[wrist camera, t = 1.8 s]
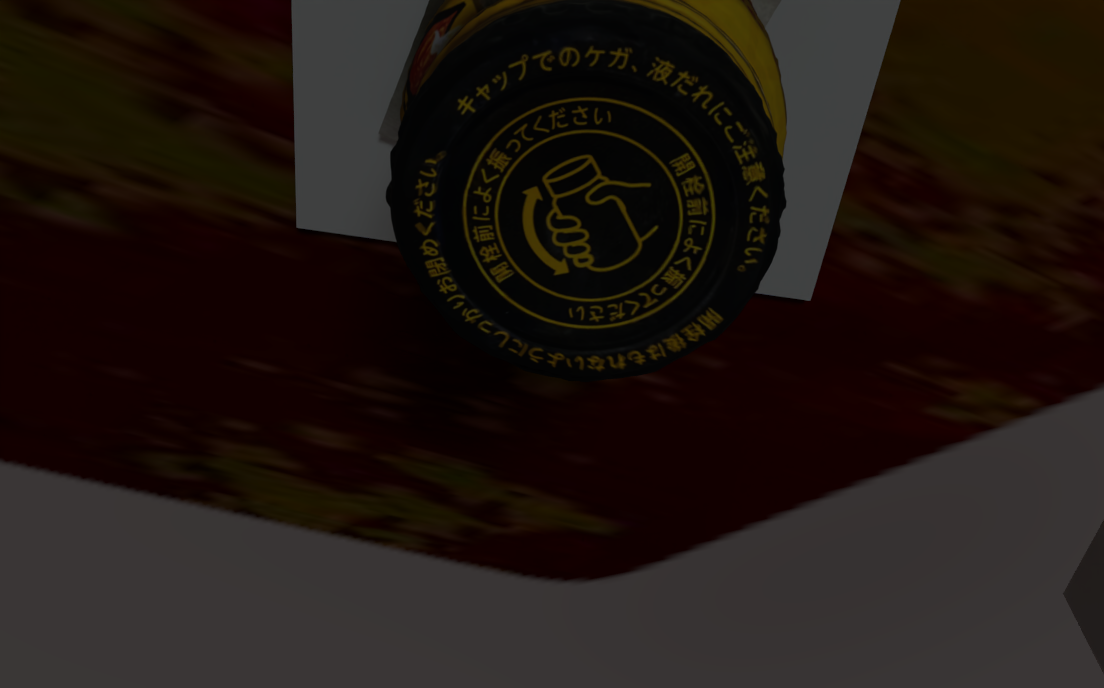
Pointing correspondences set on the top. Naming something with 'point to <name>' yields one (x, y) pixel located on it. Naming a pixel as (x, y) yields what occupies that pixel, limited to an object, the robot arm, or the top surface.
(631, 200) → the condiment
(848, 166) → the sheet
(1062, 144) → the top surface
